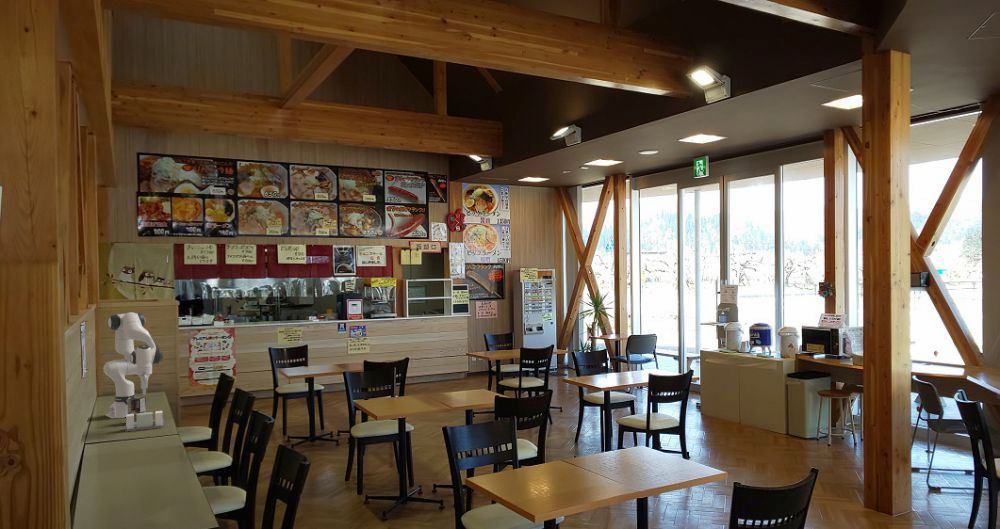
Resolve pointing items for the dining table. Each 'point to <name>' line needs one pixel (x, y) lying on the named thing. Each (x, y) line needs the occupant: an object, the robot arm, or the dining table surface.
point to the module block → (144, 419)
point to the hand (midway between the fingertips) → (144, 393)
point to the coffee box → (136, 406)
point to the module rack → (133, 426)
